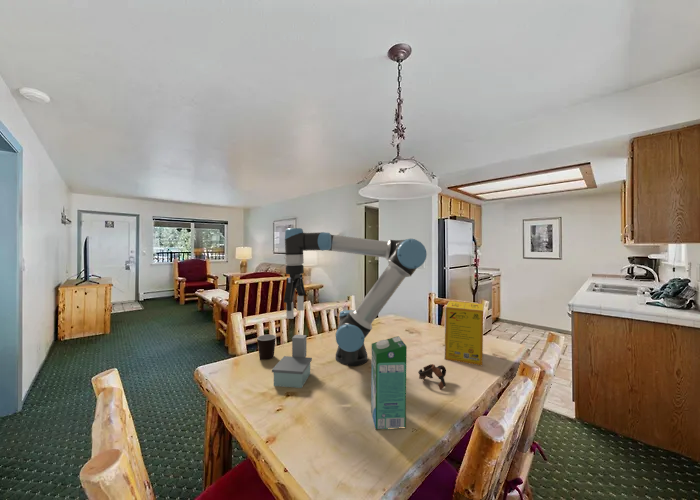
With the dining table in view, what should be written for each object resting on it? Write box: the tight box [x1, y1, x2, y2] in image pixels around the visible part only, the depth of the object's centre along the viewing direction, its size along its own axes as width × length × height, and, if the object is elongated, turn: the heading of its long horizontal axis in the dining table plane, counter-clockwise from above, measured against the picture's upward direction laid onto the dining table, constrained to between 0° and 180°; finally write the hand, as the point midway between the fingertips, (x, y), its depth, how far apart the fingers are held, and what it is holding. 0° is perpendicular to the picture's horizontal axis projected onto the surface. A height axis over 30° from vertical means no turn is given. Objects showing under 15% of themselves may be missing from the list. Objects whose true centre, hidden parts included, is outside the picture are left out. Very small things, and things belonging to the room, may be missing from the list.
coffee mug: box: [256, 334, 277, 361], centre depth 137 cm, size 12×9×10 cm
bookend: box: [271, 334, 313, 374], centre depth 115 cm, size 12×17×9 cm
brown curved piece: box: [418, 363, 447, 390], centre depth 113 cm, size 12×10×8 cm
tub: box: [273, 363, 311, 389], centre depth 113 cm, size 11×12×6 cm
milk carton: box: [370, 335, 408, 430], centre depth 88 cm, size 9×9×25 cm
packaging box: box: [444, 300, 484, 366], centre depth 139 cm, size 16×16×25 cm
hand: (295, 314), depth 122 cm, fingers open, 13 cm apart
